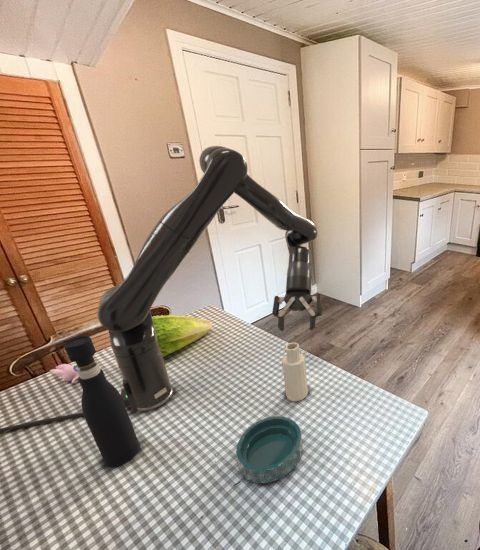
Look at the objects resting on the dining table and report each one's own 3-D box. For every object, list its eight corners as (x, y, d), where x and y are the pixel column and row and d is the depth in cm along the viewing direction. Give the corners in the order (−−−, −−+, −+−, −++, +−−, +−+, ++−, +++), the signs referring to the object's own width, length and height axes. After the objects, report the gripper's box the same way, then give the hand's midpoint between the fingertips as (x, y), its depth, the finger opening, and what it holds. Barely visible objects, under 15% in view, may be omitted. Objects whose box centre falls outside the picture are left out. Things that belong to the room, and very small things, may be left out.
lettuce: (227, 322, 111) (206, 296, 115) (157, 344, 91) (136, 310, 95) (215, 346, 117) (196, 320, 121) (148, 371, 97) (128, 339, 102)
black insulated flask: (121, 470, 65) (72, 353, 54) (96, 464, 66) (44, 349, 55) (146, 444, 71) (107, 334, 60) (124, 439, 72) (81, 330, 61)
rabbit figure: (108, 378, 93) (65, 366, 95) (104, 363, 91) (61, 351, 92) (87, 393, 87) (42, 380, 89) (83, 377, 85) (37, 364, 87)
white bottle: (290, 404, 82) (285, 355, 76) (283, 391, 87) (277, 344, 81) (311, 395, 85) (307, 348, 79) (302, 383, 90) (298, 337, 84)
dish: (248, 499, 60) (245, 484, 58) (233, 447, 70) (230, 433, 68) (312, 463, 67) (310, 448, 65) (289, 421, 77) (288, 407, 75)
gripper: (273, 274, 90) (268, 328, 84) (321, 273, 91) (320, 326, 85) (278, 283, 97) (274, 334, 91) (323, 283, 98) (322, 332, 92)
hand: (296, 330), depth 88 cm, fingers open, 8 cm apart
